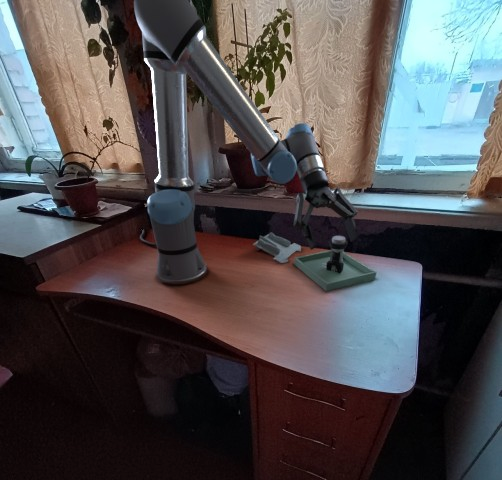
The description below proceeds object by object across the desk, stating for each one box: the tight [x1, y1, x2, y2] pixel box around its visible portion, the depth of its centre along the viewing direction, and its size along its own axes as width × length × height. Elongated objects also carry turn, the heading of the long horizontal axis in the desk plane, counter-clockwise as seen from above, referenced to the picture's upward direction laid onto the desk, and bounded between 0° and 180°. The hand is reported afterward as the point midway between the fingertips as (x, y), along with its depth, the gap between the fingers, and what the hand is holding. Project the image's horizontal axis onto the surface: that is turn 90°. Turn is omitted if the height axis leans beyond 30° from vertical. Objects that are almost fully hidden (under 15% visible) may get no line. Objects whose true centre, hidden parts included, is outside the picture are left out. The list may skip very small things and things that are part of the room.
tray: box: [293, 249, 377, 292], centre depth 94 cm, size 19×16×2 cm
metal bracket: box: [252, 231, 302, 264], centre depth 107 cm, size 14×6×15 cm
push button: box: [322, 235, 349, 273], centre depth 92 cm, size 7×5×10 cm
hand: (334, 243), depth 90 cm, fingers open, 13 cm apart
